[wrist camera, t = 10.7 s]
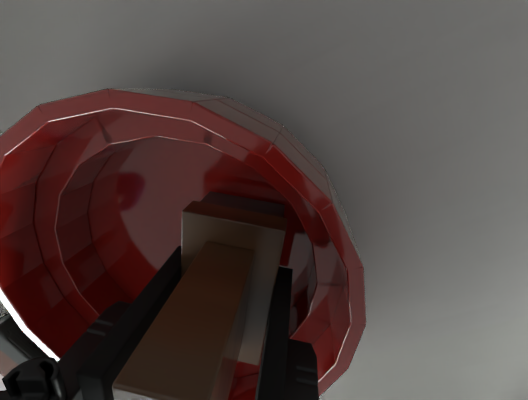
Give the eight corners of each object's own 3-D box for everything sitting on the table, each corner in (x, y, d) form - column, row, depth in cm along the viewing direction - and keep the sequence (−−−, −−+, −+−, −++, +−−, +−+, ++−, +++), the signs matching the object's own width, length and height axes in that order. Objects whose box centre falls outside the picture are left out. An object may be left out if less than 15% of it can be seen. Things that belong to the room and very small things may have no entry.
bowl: (42, 68, 13) (-97, 56, 9) (389, 120, 12) (442, 139, 7) (89, 315, 20) (26, 381, 15) (311, 366, 19) (313, 454, 14)
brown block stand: (206, 186, 13) (52, 335, 5) (290, 201, 13) (265, 387, 5) (200, 305, 17) (101, 509, 9) (266, 320, 17) (228, 547, 8)
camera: (-2, 329, 18) (101, 419, 21) (33, 300, 21) (120, 384, 24) (-57, 354, 20) (48, 435, 23) (-18, 324, 22) (71, 401, 25)
